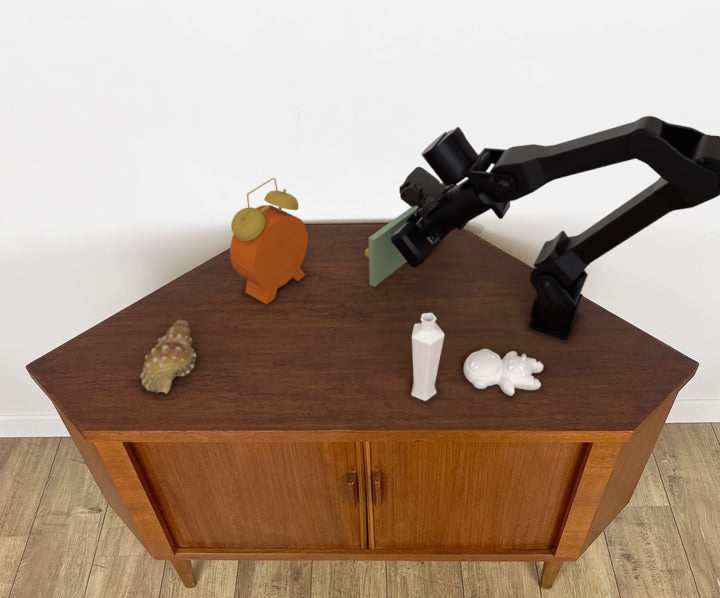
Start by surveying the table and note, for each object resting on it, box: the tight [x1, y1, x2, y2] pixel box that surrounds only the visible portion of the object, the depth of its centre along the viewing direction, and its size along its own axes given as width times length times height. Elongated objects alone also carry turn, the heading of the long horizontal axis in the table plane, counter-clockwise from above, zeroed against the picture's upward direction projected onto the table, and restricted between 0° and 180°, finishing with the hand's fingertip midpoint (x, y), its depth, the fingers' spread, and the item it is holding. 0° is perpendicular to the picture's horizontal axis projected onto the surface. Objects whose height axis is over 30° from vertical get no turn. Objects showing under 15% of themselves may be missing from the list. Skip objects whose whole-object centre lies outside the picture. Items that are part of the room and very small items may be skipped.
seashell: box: [140, 319, 197, 395], centre depth 104 cm, size 9×8×10 cm
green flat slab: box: [364, 206, 418, 288], centre depth 118 cm, size 16×3×10 cm, turn 139°
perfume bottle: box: [410, 312, 446, 402], centre depth 96 cm, size 5×4×15 cm
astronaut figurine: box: [462, 348, 544, 397], centre depth 102 cm, size 9×12×3 cm
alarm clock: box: [229, 177, 309, 305], centre depth 113 cm, size 13×6×20 cm, turn 141°
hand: (399, 240), depth 116 cm, fingers closed, pressing on green flat slab
